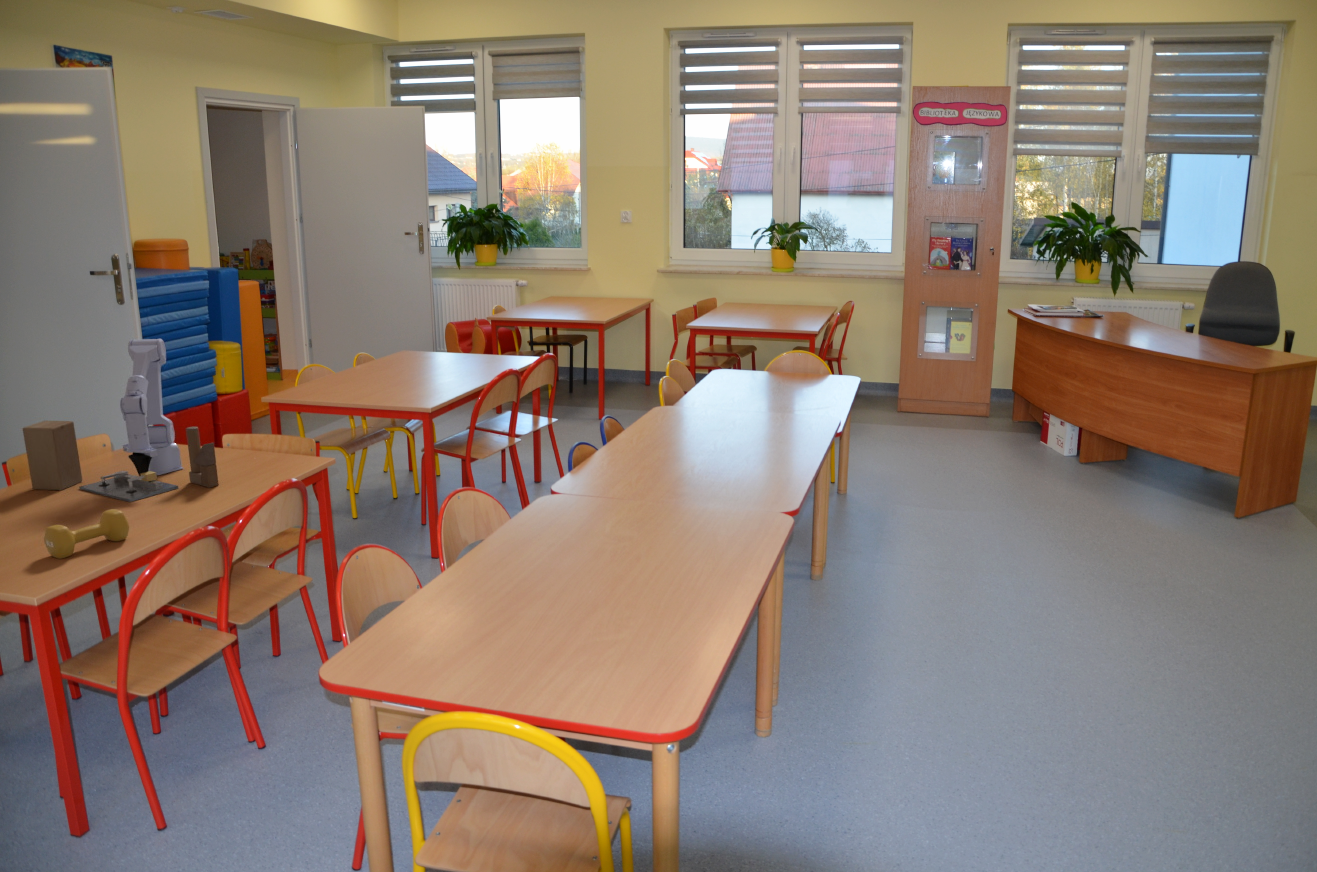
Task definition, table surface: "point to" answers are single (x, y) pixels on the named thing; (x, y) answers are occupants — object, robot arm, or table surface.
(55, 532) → the dumbbell
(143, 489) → the hole plate
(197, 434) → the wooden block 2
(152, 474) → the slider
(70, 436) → the wooden block
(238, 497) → the table surface
